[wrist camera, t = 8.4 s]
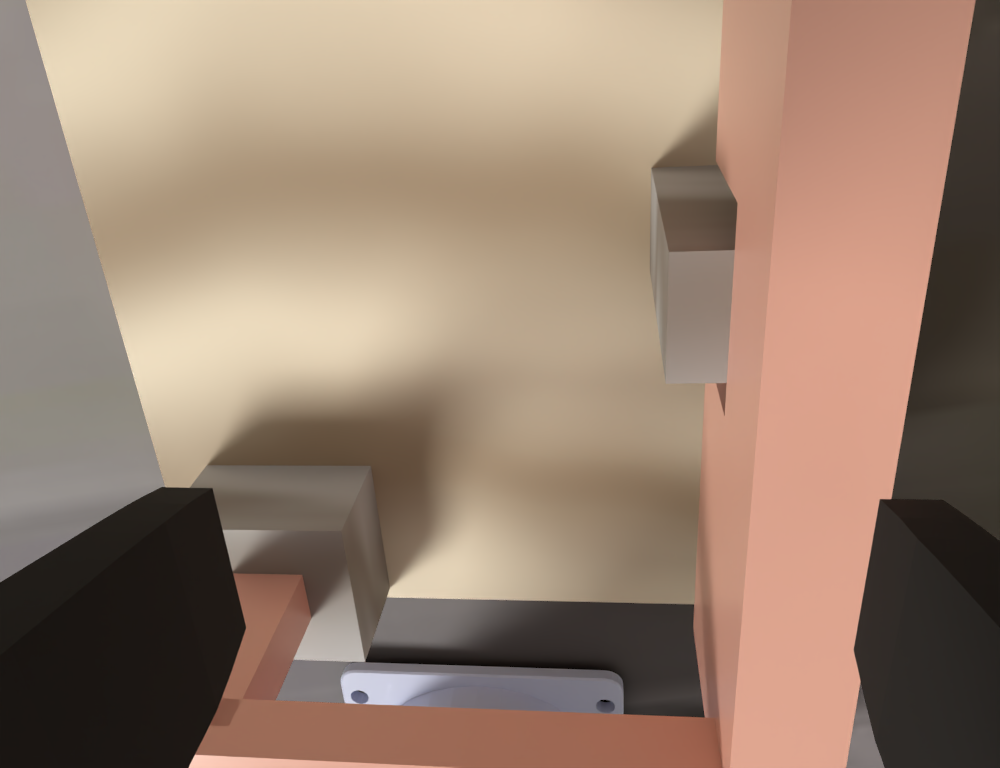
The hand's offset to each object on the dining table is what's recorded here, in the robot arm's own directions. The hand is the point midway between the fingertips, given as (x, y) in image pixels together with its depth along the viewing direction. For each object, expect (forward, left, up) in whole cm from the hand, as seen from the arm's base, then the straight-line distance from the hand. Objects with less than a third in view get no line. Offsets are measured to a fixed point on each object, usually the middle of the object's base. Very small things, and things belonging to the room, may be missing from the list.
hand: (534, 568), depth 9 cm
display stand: (+1, +2, -10) cm, 11 cm away
